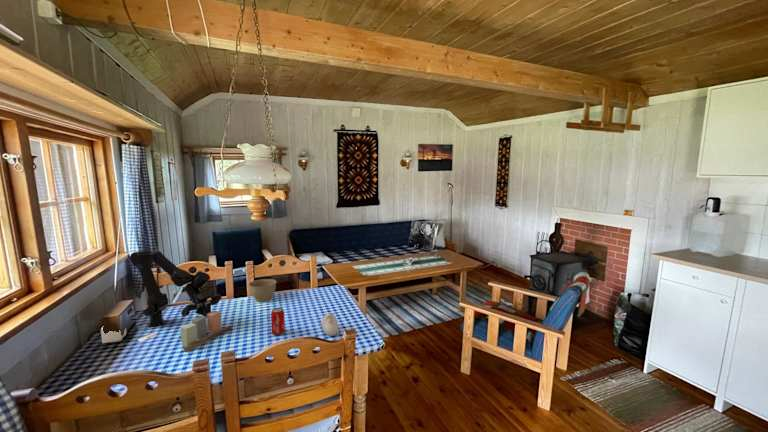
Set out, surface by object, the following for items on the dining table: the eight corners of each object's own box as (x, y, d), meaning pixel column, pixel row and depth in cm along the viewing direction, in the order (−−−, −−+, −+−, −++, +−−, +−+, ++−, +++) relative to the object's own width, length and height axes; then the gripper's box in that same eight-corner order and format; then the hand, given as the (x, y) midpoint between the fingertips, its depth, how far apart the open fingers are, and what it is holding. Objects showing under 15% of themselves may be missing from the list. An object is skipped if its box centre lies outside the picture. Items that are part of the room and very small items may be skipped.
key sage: (181, 346, 142) (180, 327, 141) (191, 341, 146) (190, 322, 145) (187, 348, 140) (186, 328, 139) (197, 343, 144) (195, 324, 143)
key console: (168, 347, 143) (168, 341, 142) (215, 326, 163) (214, 320, 163) (186, 354, 137) (186, 348, 137) (232, 331, 158) (231, 325, 158)
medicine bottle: (126, 333, 155) (124, 310, 153) (120, 341, 148) (118, 316, 147) (108, 336, 152) (106, 312, 151) (101, 343, 145) (99, 318, 144)
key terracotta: (207, 331, 155) (206, 314, 154) (215, 327, 160) (214, 310, 158) (213, 333, 154) (212, 315, 153) (221, 329, 158) (220, 312, 157)
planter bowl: (282, 297, 203) (281, 281, 202) (262, 306, 189) (261, 288, 188) (264, 292, 211) (263, 277, 209) (243, 301, 197) (243, 284, 195)
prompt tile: (137, 340, 148) (137, 339, 148) (153, 334, 154) (153, 332, 154) (152, 347, 143) (152, 345, 143) (168, 339, 149) (168, 338, 149)
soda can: (282, 328, 162) (281, 306, 160) (286, 333, 157) (286, 310, 155) (269, 332, 158) (269, 309, 156) (274, 337, 153) (273, 313, 151)
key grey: (192, 337, 149) (191, 319, 148) (201, 333, 154) (200, 315, 152) (198, 339, 148) (197, 321, 147) (207, 335, 152) (206, 317, 151)
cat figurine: (335, 320, 151) (328, 305, 164) (320, 330, 149) (314, 314, 162) (344, 333, 154) (337, 317, 168) (330, 344, 153) (324, 327, 166)
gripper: (183, 290, 149) (200, 317, 146) (218, 279, 166) (234, 302, 162) (173, 303, 153) (190, 329, 150) (209, 291, 170) (224, 314, 167)
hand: (211, 318), depth 157 cm, fingers closed, pressing on key terracotta
